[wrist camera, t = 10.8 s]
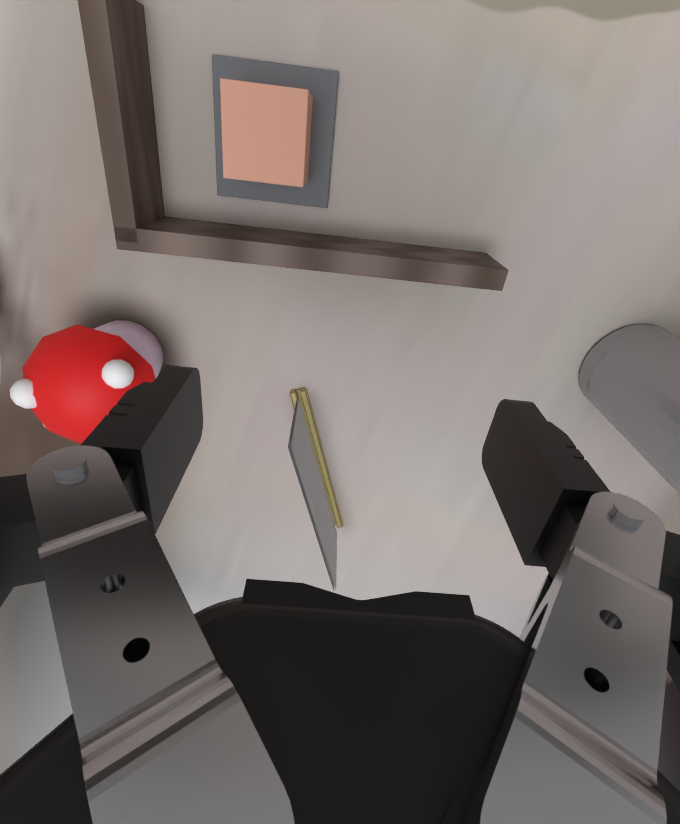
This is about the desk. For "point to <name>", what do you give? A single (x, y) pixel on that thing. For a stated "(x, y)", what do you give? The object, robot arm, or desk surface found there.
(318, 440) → the sign holder
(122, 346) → the mushroom
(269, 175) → the block
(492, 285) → the brown wooden corner barrier
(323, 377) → the desk surface
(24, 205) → the desk surface
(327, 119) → the pad
